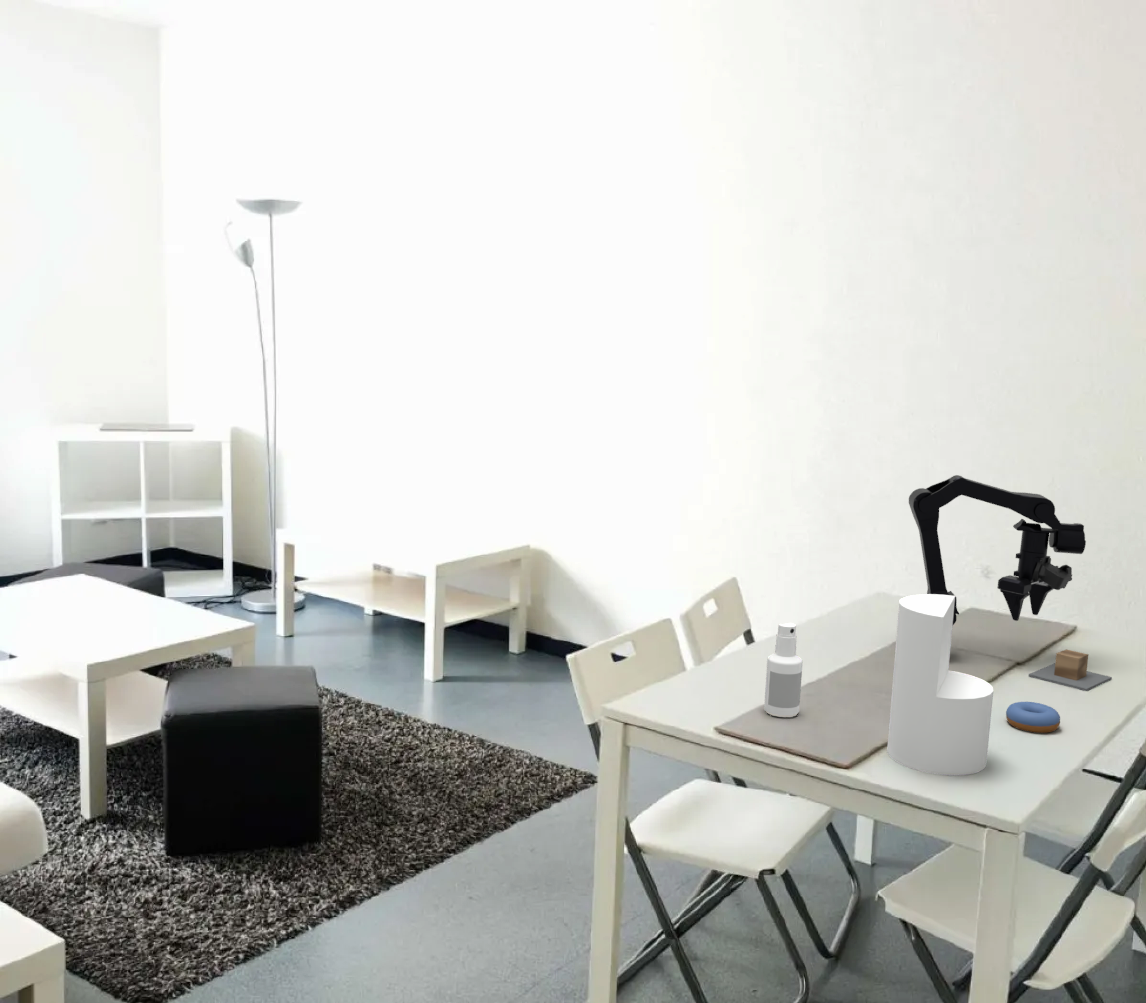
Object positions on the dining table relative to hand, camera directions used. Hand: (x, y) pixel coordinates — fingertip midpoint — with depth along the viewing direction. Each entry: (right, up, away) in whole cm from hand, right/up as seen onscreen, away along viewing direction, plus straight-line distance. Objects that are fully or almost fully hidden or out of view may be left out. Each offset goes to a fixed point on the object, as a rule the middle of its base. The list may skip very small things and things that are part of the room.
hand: (1025, 617), depth 275 cm
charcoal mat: (+7, -13, -7) cm, 16 cm away
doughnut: (-13, -18, -39) cm, 45 cm away
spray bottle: (-62, -16, -37) cm, 74 cm away
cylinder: (-38, -20, -57) cm, 71 cm away
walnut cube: (+7, -12, -8) cm, 16 cm away
